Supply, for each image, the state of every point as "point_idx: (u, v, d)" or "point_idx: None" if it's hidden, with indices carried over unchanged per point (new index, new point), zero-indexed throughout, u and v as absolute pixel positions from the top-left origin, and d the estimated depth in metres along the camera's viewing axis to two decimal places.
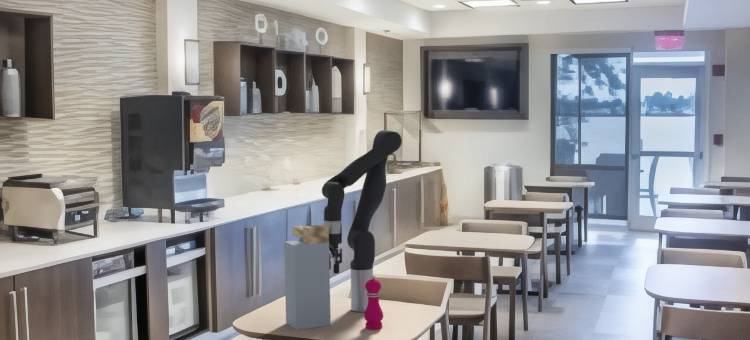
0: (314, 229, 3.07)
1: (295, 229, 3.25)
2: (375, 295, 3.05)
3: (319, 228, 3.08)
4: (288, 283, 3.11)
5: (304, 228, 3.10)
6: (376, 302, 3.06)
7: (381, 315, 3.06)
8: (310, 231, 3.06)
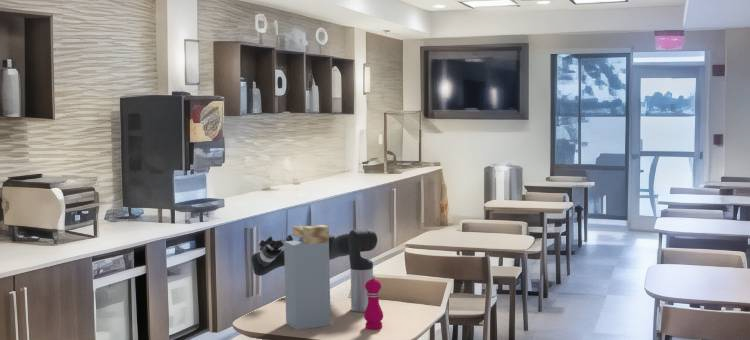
0: (314, 229, 3.07)
1: (295, 229, 3.25)
2: (375, 295, 3.05)
3: (319, 228, 3.08)
4: (288, 283, 3.11)
5: (304, 228, 3.10)
6: (376, 302, 3.06)
7: (381, 315, 3.06)
8: (310, 231, 3.06)
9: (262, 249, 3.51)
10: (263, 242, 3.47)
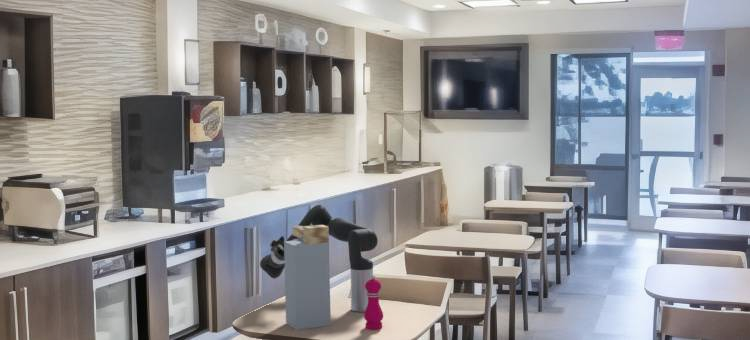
0: (314, 229, 3.07)
1: (295, 229, 3.25)
2: (375, 295, 3.05)
3: (319, 228, 3.08)
4: (288, 283, 3.11)
5: (304, 228, 3.10)
6: (376, 302, 3.06)
7: (381, 315, 3.06)
8: (310, 231, 3.06)
9: (273, 250, 3.36)
10: (274, 242, 3.33)
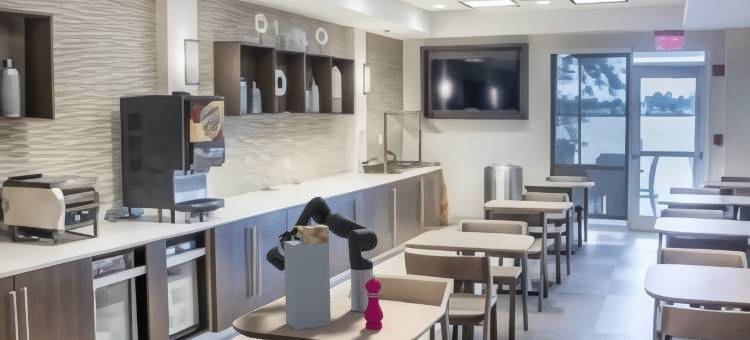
0: (314, 229, 3.07)
1: None
2: (375, 295, 3.05)
3: (319, 228, 3.08)
4: (288, 283, 3.11)
5: (304, 228, 3.10)
6: (376, 302, 3.06)
7: (381, 315, 3.06)
8: (310, 231, 3.06)
9: (282, 241, 3.29)
10: (288, 233, 3.26)
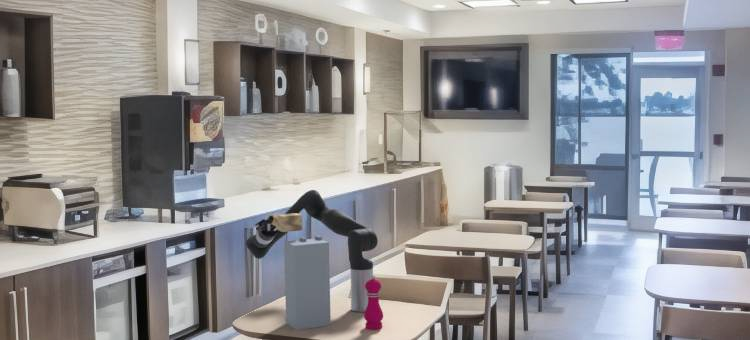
0: (287, 217, 3.15)
1: None
2: (375, 295, 3.05)
3: (292, 216, 3.15)
4: (288, 283, 3.11)
5: (278, 216, 3.18)
6: (376, 302, 3.06)
7: (381, 315, 3.06)
8: (283, 219, 3.14)
9: (259, 229, 3.37)
10: (264, 221, 3.34)
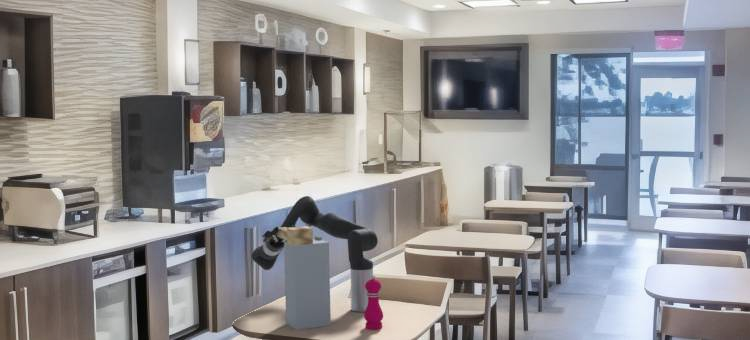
0: (298, 230, 3.04)
1: (280, 230, 3.22)
2: (375, 295, 3.05)
3: (303, 229, 3.05)
4: (288, 283, 3.11)
5: (288, 229, 3.07)
6: (376, 302, 3.06)
7: (381, 315, 3.06)
8: (294, 232, 3.03)
9: (266, 241, 3.26)
10: (269, 233, 3.23)
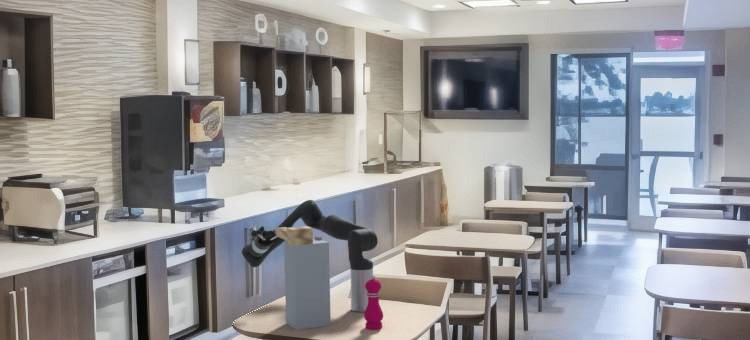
0: (298, 230, 3.04)
1: (280, 230, 3.22)
2: (375, 295, 3.05)
3: (303, 229, 3.05)
4: (288, 283, 3.11)
5: (288, 229, 3.07)
6: (376, 302, 3.06)
7: (381, 315, 3.06)
8: (294, 232, 3.03)
9: (254, 239, 3.40)
10: (255, 232, 3.36)
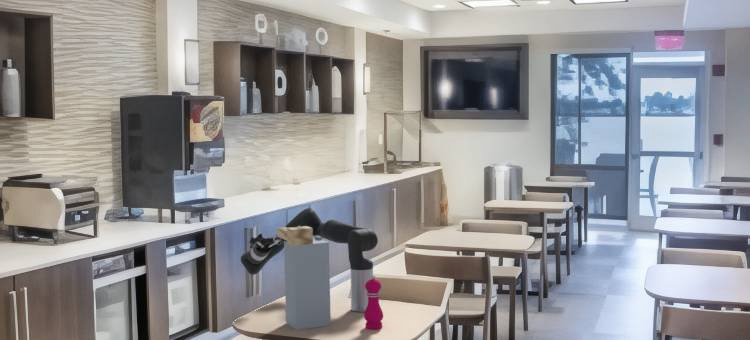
0: (298, 230, 3.04)
1: (280, 230, 3.22)
2: (375, 295, 3.05)
3: (303, 229, 3.05)
4: (288, 283, 3.11)
5: (288, 229, 3.07)
6: (376, 302, 3.06)
7: (381, 315, 3.06)
8: (294, 232, 3.03)
9: (252, 247, 3.42)
10: (253, 239, 3.39)
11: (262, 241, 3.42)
